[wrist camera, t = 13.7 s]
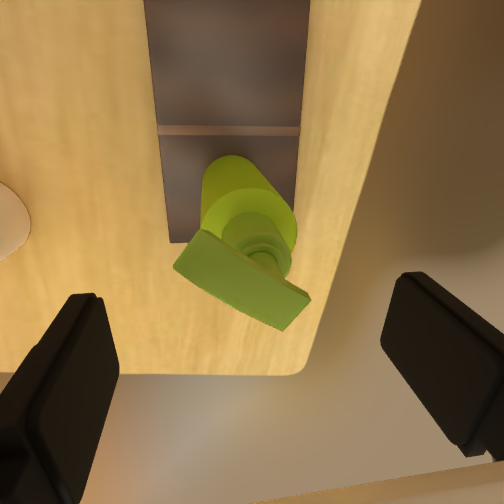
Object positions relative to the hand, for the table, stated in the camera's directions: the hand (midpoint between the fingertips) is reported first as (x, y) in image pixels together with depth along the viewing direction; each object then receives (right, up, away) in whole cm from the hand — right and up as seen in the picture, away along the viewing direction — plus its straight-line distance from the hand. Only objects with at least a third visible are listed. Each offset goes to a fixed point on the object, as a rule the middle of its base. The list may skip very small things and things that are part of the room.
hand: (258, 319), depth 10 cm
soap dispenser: (-3, +9, +20) cm, 22 cm away
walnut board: (-2, +14, +19) cm, 24 cm away
